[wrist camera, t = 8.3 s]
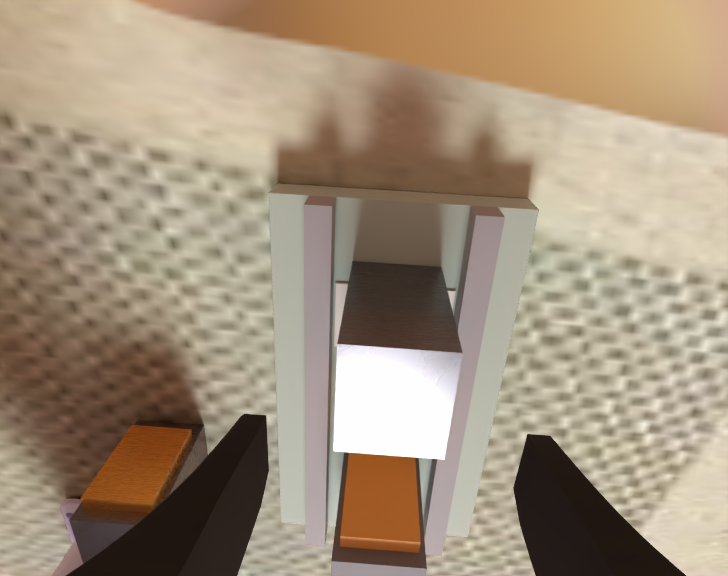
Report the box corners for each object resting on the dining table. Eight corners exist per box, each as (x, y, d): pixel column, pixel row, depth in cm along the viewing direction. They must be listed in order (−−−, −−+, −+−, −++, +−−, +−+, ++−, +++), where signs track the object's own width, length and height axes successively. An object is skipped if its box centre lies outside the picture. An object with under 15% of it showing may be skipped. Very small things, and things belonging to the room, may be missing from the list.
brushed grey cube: (428, 364, 21) (441, 473, 15) (347, 358, 21) (332, 465, 15) (441, 266, 19) (463, 353, 13) (352, 260, 19) (337, 343, 13)
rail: (463, 512, 27) (488, 666, 20) (286, 499, 27) (252, 646, 20) (528, 198, 19) (604, 278, 12) (277, 183, 19) (216, 252, 12)
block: (211, 480, 27) (165, 587, 21) (149, 475, 27) (88, 580, 21) (202, 415, 25) (150, 516, 19) (136, 411, 25) (66, 509, 19)
